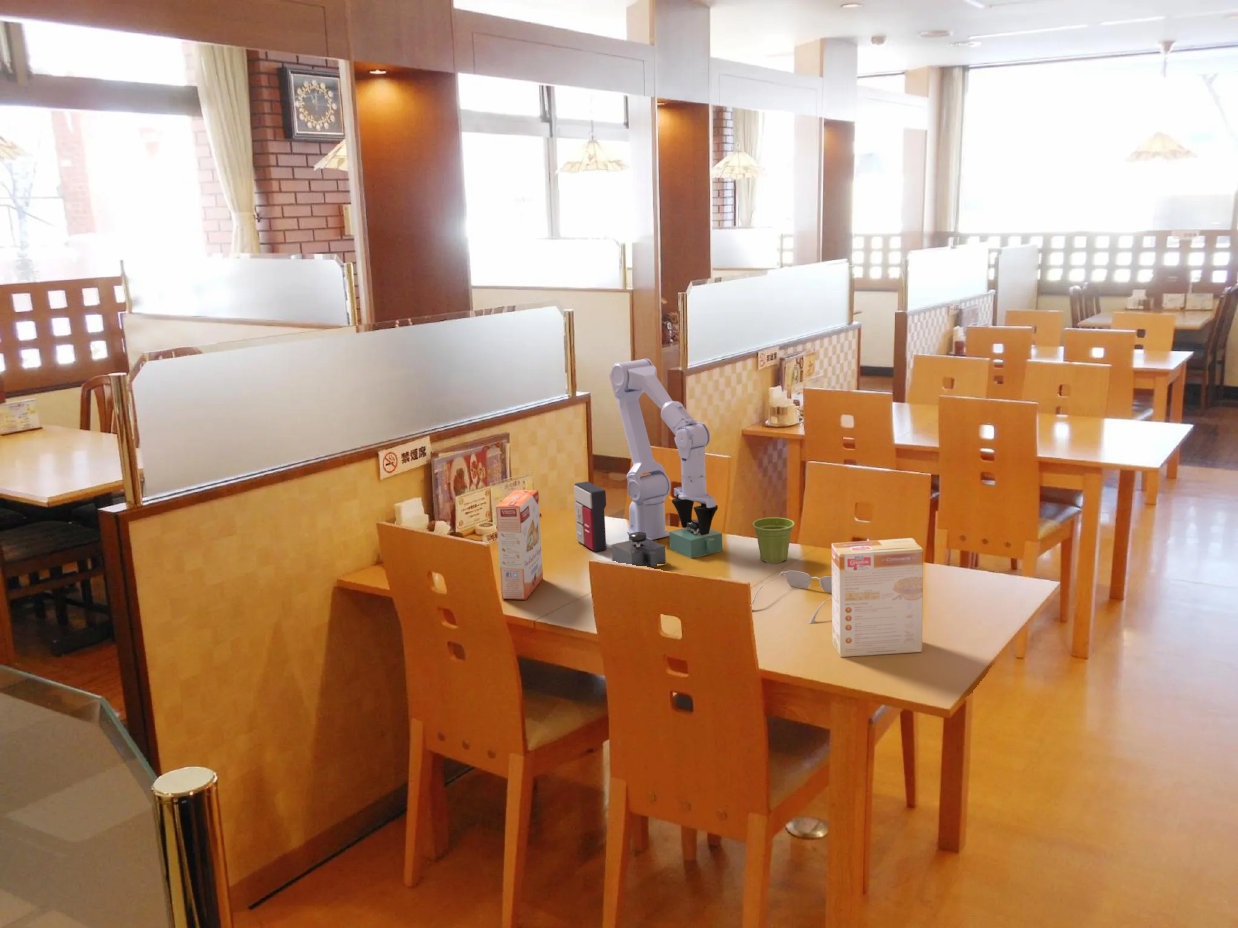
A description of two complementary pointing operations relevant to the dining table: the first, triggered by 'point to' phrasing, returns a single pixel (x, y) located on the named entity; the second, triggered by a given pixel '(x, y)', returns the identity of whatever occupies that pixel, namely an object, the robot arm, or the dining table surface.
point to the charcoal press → (639, 553)
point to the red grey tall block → (590, 515)
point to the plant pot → (773, 538)
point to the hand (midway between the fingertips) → (695, 530)
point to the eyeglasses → (805, 584)
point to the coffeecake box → (877, 597)
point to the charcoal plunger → (637, 537)
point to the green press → (695, 542)
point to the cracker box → (519, 544)
